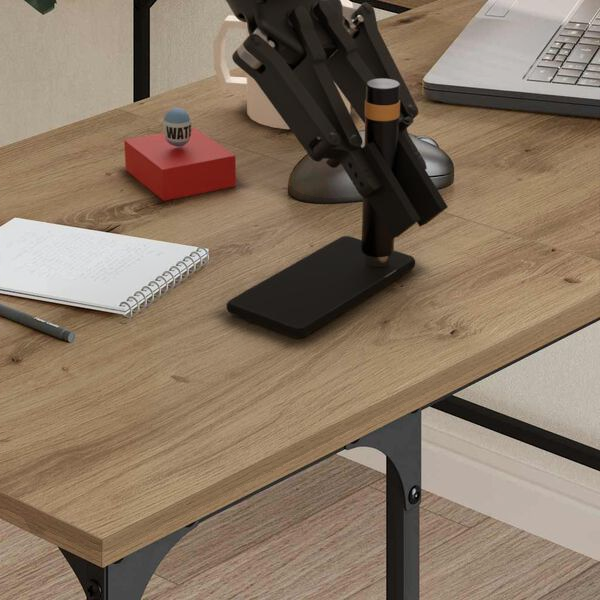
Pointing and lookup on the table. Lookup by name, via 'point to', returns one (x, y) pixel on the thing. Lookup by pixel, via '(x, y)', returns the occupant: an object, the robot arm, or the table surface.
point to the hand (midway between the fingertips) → (419, 222)
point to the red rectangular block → (179, 160)
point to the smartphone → (317, 288)
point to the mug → (250, 79)
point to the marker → (384, 133)
